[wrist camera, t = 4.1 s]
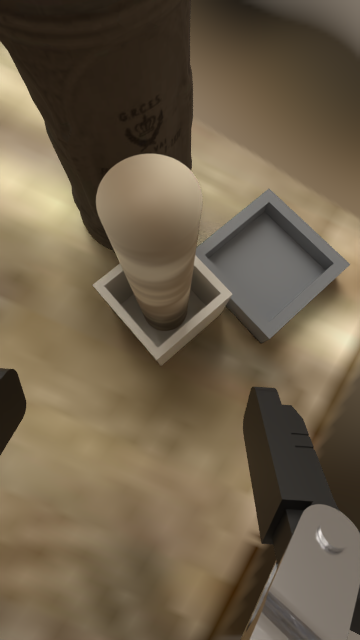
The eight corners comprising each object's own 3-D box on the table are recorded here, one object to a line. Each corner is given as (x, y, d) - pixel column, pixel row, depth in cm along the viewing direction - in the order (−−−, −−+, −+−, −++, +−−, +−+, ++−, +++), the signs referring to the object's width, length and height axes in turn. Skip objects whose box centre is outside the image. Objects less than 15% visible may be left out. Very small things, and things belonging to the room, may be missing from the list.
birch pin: (162, 340, 26) (142, 269, 10) (134, 307, 27) (74, 194, 11) (196, 311, 27) (224, 203, 11) (167, 279, 27) (155, 136, 12)
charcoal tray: (261, 343, 27) (269, 339, 24) (187, 265, 28) (188, 253, 26) (335, 275, 28) (350, 264, 26) (261, 204, 30) (269, 188, 27)
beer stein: (216, 215, 29) (266, -144, 10) (132, 282, 28) (2, 3, 8) (121, 127, 33) (25, -263, 14) (42, 182, 31) (-197, -176, 12)
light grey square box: (161, 366, 26) (156, 359, 20) (110, 306, 27) (92, 284, 21) (220, 314, 27) (232, 294, 21) (169, 259, 28) (167, 226, 22)
